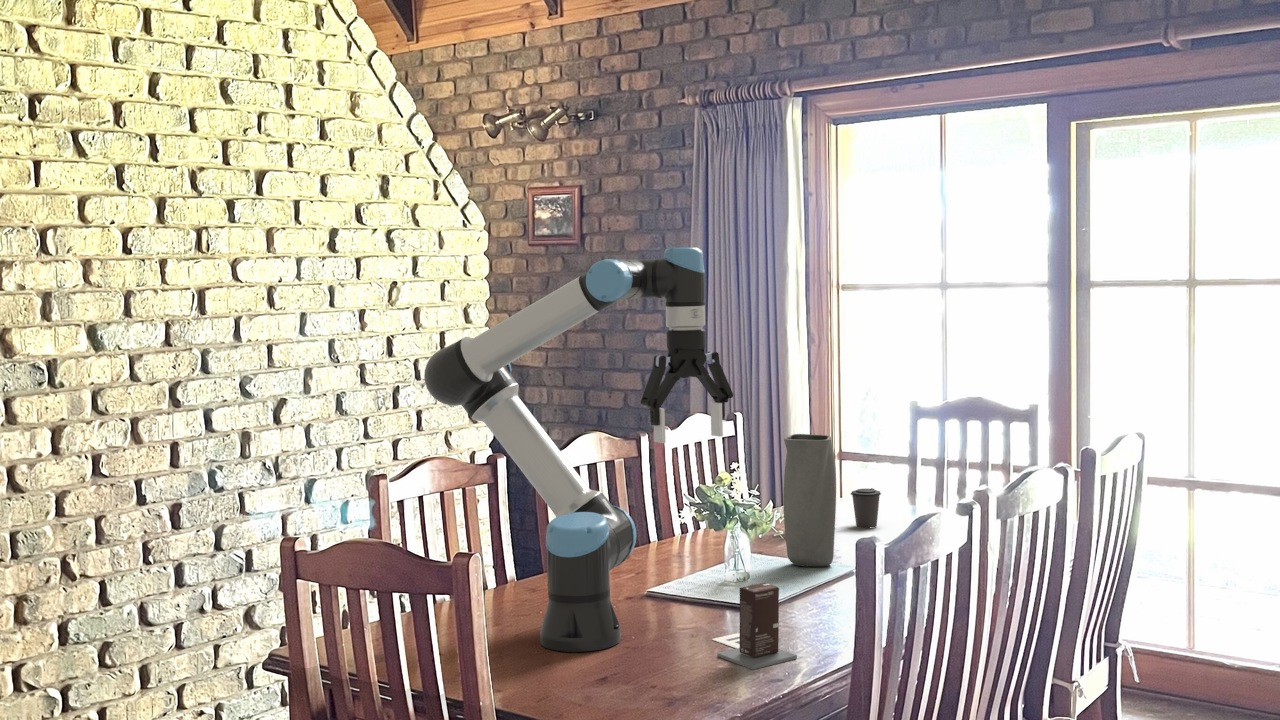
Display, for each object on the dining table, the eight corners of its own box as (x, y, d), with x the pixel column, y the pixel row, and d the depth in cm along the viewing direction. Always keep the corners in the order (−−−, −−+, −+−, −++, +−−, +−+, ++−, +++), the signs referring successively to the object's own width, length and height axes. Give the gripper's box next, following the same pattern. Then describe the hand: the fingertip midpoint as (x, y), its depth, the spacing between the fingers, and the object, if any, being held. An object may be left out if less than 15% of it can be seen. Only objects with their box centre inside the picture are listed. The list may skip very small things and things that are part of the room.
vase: (795, 557, 309) (792, 432, 307) (844, 560, 303) (841, 434, 301) (776, 567, 298) (773, 439, 296) (826, 572, 292) (824, 440, 290)
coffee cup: (886, 524, 345) (885, 487, 344) (875, 530, 338) (874, 492, 337) (858, 522, 349) (857, 486, 348) (846, 528, 342) (845, 490, 341)
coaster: (752, 669, 222) (752, 666, 222) (717, 656, 230) (717, 653, 230) (796, 658, 228) (796, 655, 228) (760, 646, 236) (760, 642, 236)
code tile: (738, 649, 234) (738, 648, 234) (711, 639, 241) (711, 638, 241) (767, 642, 238) (767, 641, 238) (740, 633, 245) (740, 632, 245)
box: (755, 659, 226) (753, 591, 225) (738, 653, 230) (737, 587, 229) (781, 652, 229) (779, 586, 228) (764, 647, 233) (763, 581, 232)
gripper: (642, 332, 236) (646, 447, 237) (749, 325, 250) (751, 434, 251) (620, 331, 242) (623, 443, 243) (725, 325, 256) (728, 431, 257)
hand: (688, 439), depth 247 cm, fingers open, 13 cm apart
